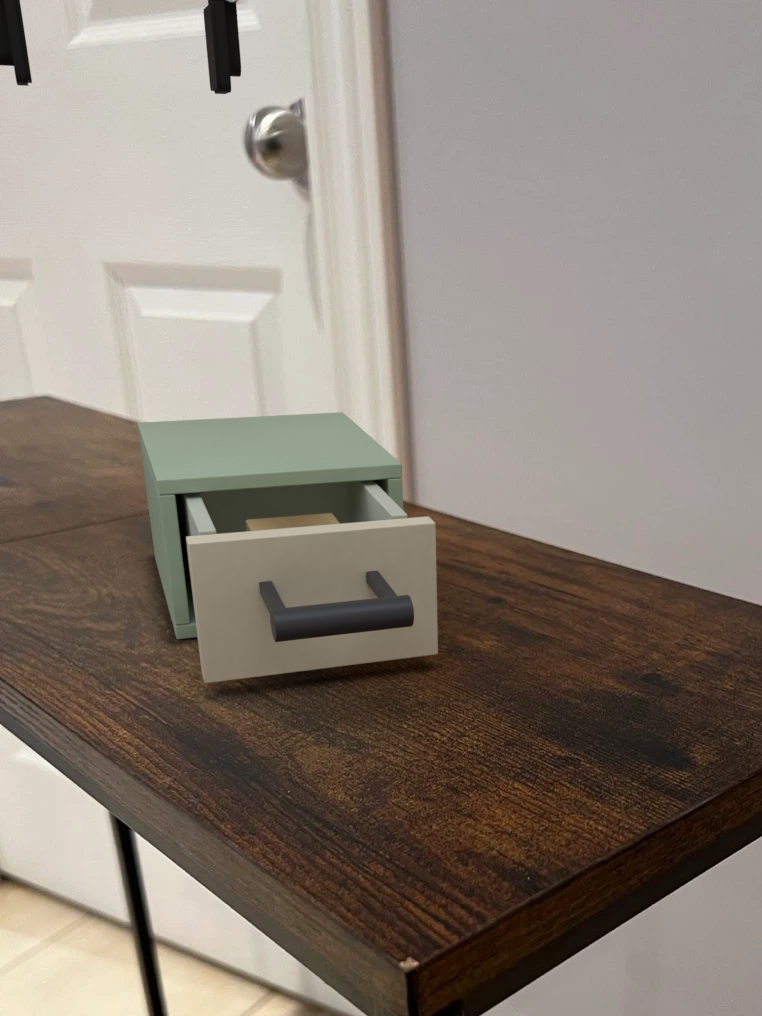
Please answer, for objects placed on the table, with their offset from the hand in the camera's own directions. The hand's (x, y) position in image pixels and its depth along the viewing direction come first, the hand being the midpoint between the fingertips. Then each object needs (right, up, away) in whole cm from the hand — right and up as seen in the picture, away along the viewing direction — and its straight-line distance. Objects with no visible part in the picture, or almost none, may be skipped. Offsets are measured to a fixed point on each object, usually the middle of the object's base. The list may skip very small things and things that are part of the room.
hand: (125, 88), depth 59 cm
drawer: (+10, -28, 0) cm, 30 cm away
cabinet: (+5, -24, +10) cm, 27 cm away
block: (+9, -27, 0) cm, 28 cm away
